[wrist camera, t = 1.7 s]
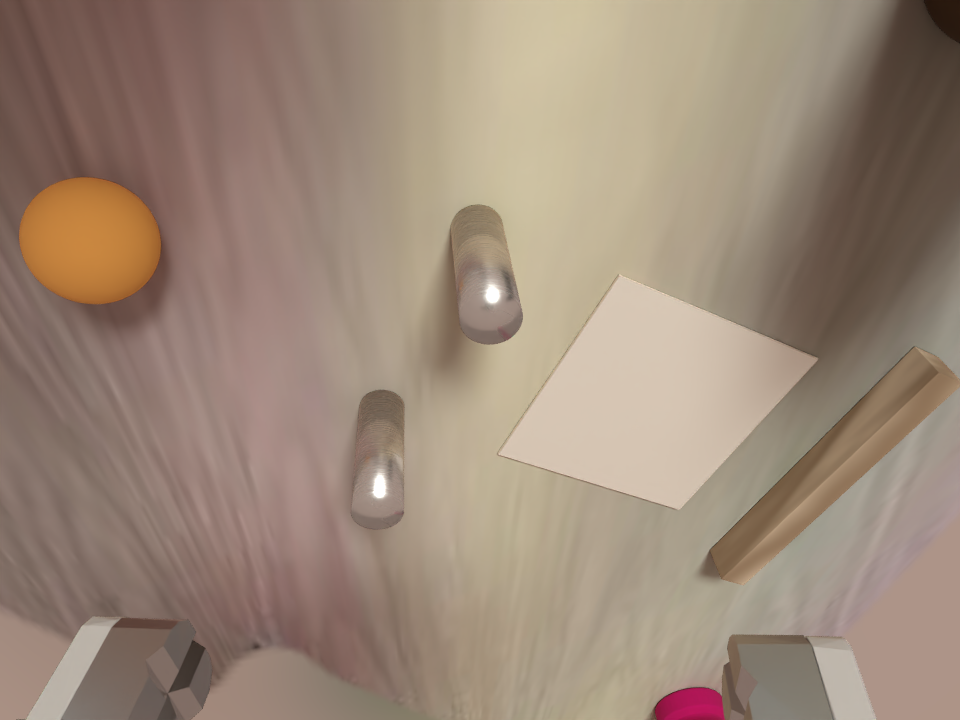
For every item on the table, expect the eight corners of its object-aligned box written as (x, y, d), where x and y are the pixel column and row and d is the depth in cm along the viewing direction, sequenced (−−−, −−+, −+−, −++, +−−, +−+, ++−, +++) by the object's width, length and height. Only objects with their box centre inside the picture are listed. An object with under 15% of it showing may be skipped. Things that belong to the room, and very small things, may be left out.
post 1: (353, 416, 43) (343, 522, 37) (369, 384, 42) (362, 488, 35) (394, 428, 44) (391, 534, 37) (411, 398, 42) (411, 501, 36)
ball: (41, 240, 35) (-11, 302, 30) (58, 137, 32) (2, 190, 28) (161, 280, 37) (127, 344, 32) (186, 186, 34) (153, 242, 29)
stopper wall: (709, 550, 53) (721, 579, 51) (914, 346, 43) (939, 372, 41) (731, 556, 54) (743, 585, 52) (938, 356, 44) (963, 383, 42)
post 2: (442, 240, 36) (448, 332, 30) (464, 196, 35) (476, 282, 29) (488, 259, 37) (504, 352, 31) (512, 216, 36) (534, 304, 30)
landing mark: (497, 452, 46) (498, 454, 45) (618, 274, 38) (619, 276, 38) (678, 507, 50) (679, 509, 50) (816, 357, 43) (818, 359, 43)
